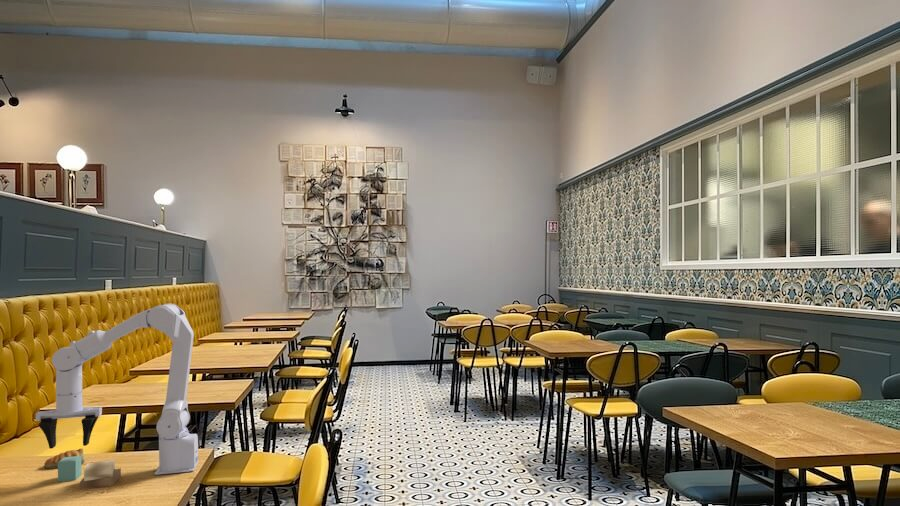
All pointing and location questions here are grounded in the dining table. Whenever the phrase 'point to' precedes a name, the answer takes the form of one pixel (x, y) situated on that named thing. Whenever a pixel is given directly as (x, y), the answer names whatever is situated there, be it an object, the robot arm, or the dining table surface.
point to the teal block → (69, 468)
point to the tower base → (101, 481)
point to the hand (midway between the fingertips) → (69, 446)
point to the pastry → (54, 460)
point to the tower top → (99, 470)
